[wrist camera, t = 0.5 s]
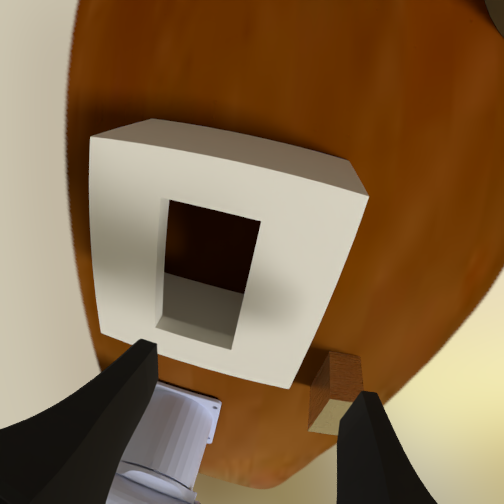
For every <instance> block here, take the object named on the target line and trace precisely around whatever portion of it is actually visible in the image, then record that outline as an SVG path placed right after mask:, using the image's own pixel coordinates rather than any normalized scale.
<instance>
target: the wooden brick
mask: <svg viewBox="0 0 504 504" xmlns="http://www.w3.org/2000/svg"><path fill="white" fill-rule="evenodd" d="M361 391H364V388H363V378H362V368H361V359H360V357H358V356H353V355H348V354H343V353H338V352H333V351H329V353H328V355H327V357H326V359H325V360H324V362H323V364H322V366H321V368H320V370H319V372H318V373H317V375H316V377H315V379H314V381H313V383H312V384H311V386H310V403H309V419H308V431H311V432H318V433H324V434H332V435H338V431H339V422H340V419H341V418H342V417H343V415H344V414H345V413H346V411H347V410H348V409H349V407H350V406H351V405H352V403H353V402H354V400H355V399H356V398H357V396H358V395H359V393H360V392H361Z"/></svg>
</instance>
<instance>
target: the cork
mask: <svg viewBox="0 0 504 504" xmlns="http://www.w3.org/2000/svg"><path fill="white" fill-rule="evenodd" d="M485 4H486V6H487V9H488V12H489V15H490V17H491V19H492V21H493V22H494V24H495V26H496V28H497V29H498V31H499V32H500V33H501V35H502V36H503V37H504V0H485Z"/></svg>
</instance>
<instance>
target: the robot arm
mask: <svg viewBox="0 0 504 504" xmlns="http://www.w3.org/2000/svg"><path fill="white" fill-rule="evenodd" d="M221 404H222V403H221V401H219V400H217V399H214V398H210V397H207V396H203V395H200V394H196V393H193V392H190V391H186V390H183V389H180V388H177V387H174V386H171V385H168V384H165V383H162V382H159V381H158V356H157V343H154V342H151V341H147V340H144V339H139V340H137V341H136V342H135V343H134V344H133V345H132V346H131V347H130V348H129V349H128V350H127V351H126V352H125V353H123V354H122V355H121V356H120V357H119V358H118V359H117V360H116V361H114V362H113V363H112V364H111V365H110V366H108V367H107V368H106V369H105V370H104V371H102V372H101V373H100V374H99V375H97V376H96V377H95V378H94V379H92V380H91V381H90V382H88V383H87V384H86V385H84V386H83V387H81V388H80V389H79V390H77V391H76V392H74V393H73V394H72V395H70V396H69V397H67V398H65V399H64V400H62V401H60V402H59V403H57V404H56V405H54V406H52V407H50V408H48V409H46V410H45V411H43V412H41V413H39V414H37V415H35V416H33V417H30V418H28V419H26V420H23V421H21V422H19V423H16V424H13V425H11V426H8V427H6V428H3V429H0V504H200V503H199V502H198V501H195V498H196V495H197V493H196V492H194V491H192V490H193V486H194V483H195V480H196V476H197V473H198V470H199V466H200V463H201V460H202V456H203V453H204V450H205V446H206V443H212V440H213V436H214V432H215V428H216V424H217V420H218V416H219V412H220V408H221ZM337 504H437V502H436V501H435V500H434V499H433V497H432V496H431V495H430V493H429V492H428V490H427V489H426V487H425V486H424V484H423V483H422V481H421V480H420V478H419V477H418V475H417V474H416V472H415V470H414V469H413V467H412V465H411V463H410V461H409V459H408V458H407V456H406V454H405V452H404V450H403V448H402V446H401V444H400V442H399V440H398V438H397V436H396V433H395V431H394V429H393V427H392V425H391V423H390V420H389V419H388V416H387V414H386V412H385V410H384V407H383V405H382V403H381V401H380V399H379V396H378V394H377V393H375V392H367V391H361V392H360V393H359V395H358V396H357V398H356V399H355V400H354V402H353V403H352V405H351V406H350V407H349V409H348V410H347V411H346V413H345V414H344V415H343V417H342V418H341V419H340V422H339V431H338V440H337Z"/></svg>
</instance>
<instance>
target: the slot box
mask: <svg viewBox="0 0 504 504" xmlns="http://www.w3.org/2000/svg"><path fill="white" fill-rule="evenodd" d="M368 198H369V195H368V194H367V192H366V190H365V188H364V186H363V184H362V183H361V181H360V179H359V177H358V176H357V174H356V172H355V170H354V169H353V167H352V165H351V163H350V162H349V161H348V160H345V159H341V158H338V157H335V156H331V155H328V154H324V153H320V152H317V151H313V150H309V149H305V148H302V147H298V146H294V145H290V144H286V143H281V142H277V141H273V140H269V139H264V138H260V137H255V136H251V135H246V134H241V133H236V132H231V131H226V130H221V129H216V128H210V127H205V126H199V125H193V124H187V123H180V122H174V121H167V120H160V119H149V120H145V121H141V122H138V123H134V124H130V125H127V126H123V127H120V128H116V129H113V130H109V131H106V132H103V133H100V134H96V135H93V136H90V154H89V215H90V236H91V251H92V264H93V274H94V284H95V293H96V301H97V308H98V315H99V322H100V328H101V333H103V334H105V335H108V336H111V337H113V338H116V339H118V340H121V341H124V342H126V343H129V344H132V345H133V344H134V343H135V342H136V341H137V340H139V339H144V340H147V341H151V342H154V343H157V353H158V354H161V355H164V356H167V357H170V358H173V359H176V360H179V361H182V362H186V363H189V364H192V365H196V366H199V367H202V368H206V369H209V370H213V371H217V372H220V373H224V374H228V375H231V376H235V377H239V378H243V379H247V380H251V381H255V382H259V383H264V384H268V385H272V386H277V387H282V388H286V389H289V388H290V386H291V384H292V382H293V380H294V378H295V376H296V374H297V372H298V370H299V368H300V365H301V363H302V361H303V359H304V357H305V355H306V353H307V351H308V348H309V346H310V344H311V342H312V340H313V337H314V335H315V333H316V331H317V328H318V326H319V324H320V322H321V319H322V317H323V315H324V312H325V310H326V308H327V305H328V303H329V301H330V298H331V296H332V294H333V291H334V289H335V286H336V284H337V281H338V279H339V276H340V274H341V271H342V269H343V266H344V264H345V261H346V259H347V256H348V253H349V251H350V248H351V246H352V243H353V240H354V238H355V235H356V232H357V229H358V227H359V224H360V221H361V218H362V215H363V213H364V210H365V207H366V204H367V201H368ZM169 199H170V200H174V201H178V202H183V203H187V204H191V205H196V206H200V207H204V208H208V209H213V210H217V211H221V212H225V213H229V214H233V215H237V216H241V217H245V218H250V219H254V220H258V221H261V224H260V229H259V233H258V237H257V242H256V246H255V250H254V255H253V259H252V263H251V268H250V272H249V276H248V281H247V285H246V289H245V293H244V294H241V293H238V292H234V291H230V290H226V289H222V288H219V287H215V286H211V285H208V284H204V283H200V282H197V281H193V280H190V279H186V278H182V277H179V276H175V275H172V274H168V273H165V272H164V263H165V247H166V233H167V220H168V209H169Z"/></svg>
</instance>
